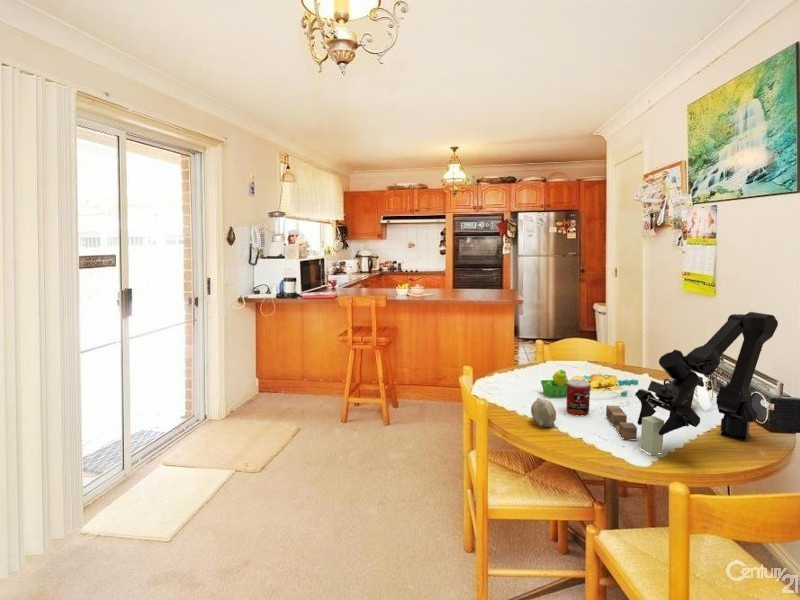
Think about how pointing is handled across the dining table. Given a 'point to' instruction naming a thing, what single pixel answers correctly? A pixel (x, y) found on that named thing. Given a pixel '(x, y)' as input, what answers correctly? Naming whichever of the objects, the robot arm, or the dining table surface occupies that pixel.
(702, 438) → the dining table surface
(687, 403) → the coffee mug
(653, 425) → the post
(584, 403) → the canned food
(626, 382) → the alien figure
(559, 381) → the fruit basket
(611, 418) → the rail
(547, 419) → the grey faceted lump
